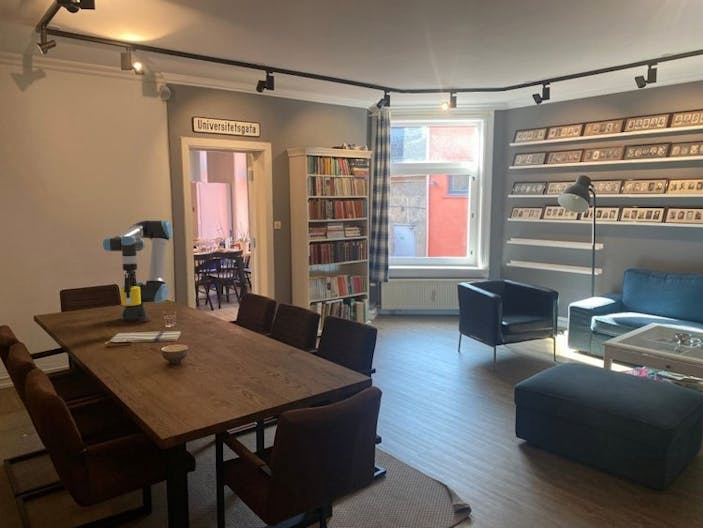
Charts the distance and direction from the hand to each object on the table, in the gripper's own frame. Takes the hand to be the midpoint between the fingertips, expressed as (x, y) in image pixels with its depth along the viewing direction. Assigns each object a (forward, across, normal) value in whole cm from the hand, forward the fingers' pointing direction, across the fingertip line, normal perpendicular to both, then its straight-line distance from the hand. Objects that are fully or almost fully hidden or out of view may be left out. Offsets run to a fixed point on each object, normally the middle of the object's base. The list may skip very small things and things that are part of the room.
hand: (131, 301), depth 300 cm
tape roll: (+2, 0, 0) cm, 2 cm away
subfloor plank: (+18, +15, +11) cm, 26 cm away
